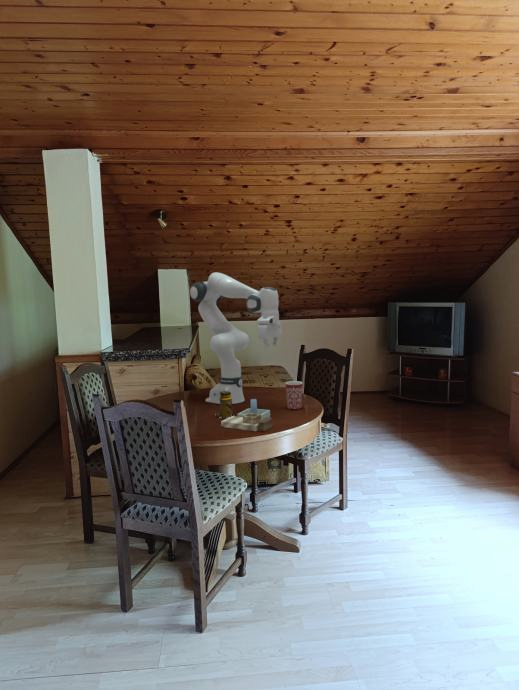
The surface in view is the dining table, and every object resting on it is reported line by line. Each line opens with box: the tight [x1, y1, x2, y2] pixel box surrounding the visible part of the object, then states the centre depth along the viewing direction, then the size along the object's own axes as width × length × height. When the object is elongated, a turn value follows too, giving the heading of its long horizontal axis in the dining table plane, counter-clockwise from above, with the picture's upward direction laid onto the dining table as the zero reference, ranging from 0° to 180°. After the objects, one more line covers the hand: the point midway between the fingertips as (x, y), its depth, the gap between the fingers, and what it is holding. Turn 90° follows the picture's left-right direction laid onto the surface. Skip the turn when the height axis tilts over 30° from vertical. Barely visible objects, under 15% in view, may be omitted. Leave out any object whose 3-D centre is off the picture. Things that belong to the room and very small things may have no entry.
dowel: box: [250, 398, 258, 414], centre depth 220 cm, size 3×3×9 cm
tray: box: [236, 407, 271, 419], centre depth 220 cm, size 12×12×4 cm
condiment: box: [214, 391, 233, 419], centre depth 228 cm, size 7×8×12 cm
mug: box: [284, 380, 303, 410], centre depth 241 cm, size 13×9×14 cm
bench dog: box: [257, 417, 273, 432], centre depth 205 cm, size 3×8×4 cm, turn 153°
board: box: [220, 413, 263, 432], centre depth 210 cm, size 18×10×6 cm, turn 63°
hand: (270, 346), depth 232 cm, fingers open, 8 cm apart
